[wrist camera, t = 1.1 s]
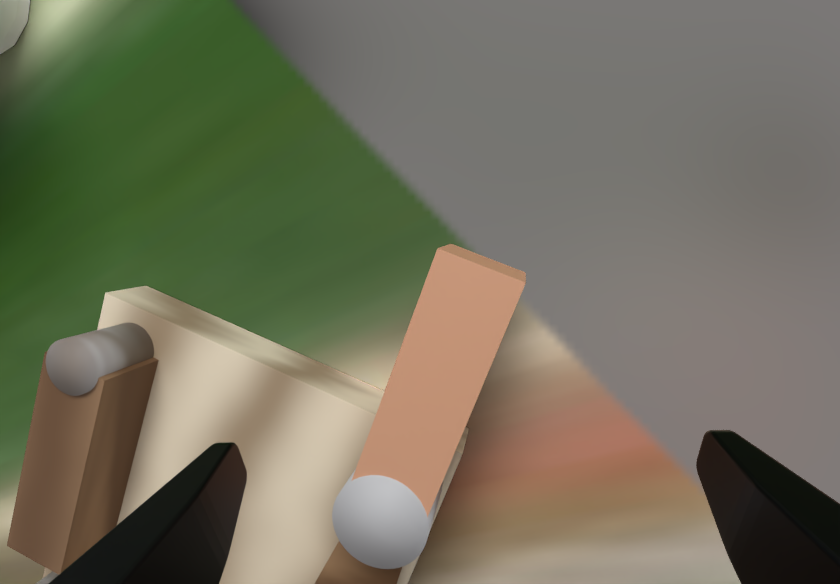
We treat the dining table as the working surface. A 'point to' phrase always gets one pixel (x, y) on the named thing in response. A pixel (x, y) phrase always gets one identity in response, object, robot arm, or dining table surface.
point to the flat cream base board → (194, 440)
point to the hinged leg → (426, 407)
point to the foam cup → (12, 21)
